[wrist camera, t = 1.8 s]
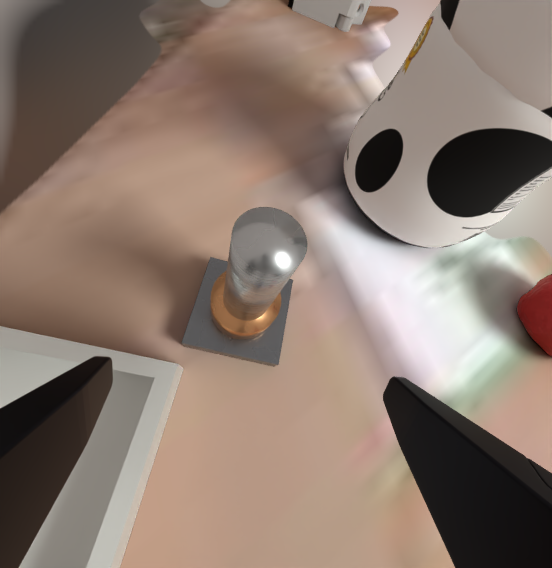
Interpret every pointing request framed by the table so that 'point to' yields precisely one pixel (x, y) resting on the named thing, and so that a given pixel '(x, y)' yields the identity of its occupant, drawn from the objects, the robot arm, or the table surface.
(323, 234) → the table surface
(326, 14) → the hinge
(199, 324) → the stud plate
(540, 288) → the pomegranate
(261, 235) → the knob
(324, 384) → the table surface
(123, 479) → the bin
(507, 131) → the milk container
